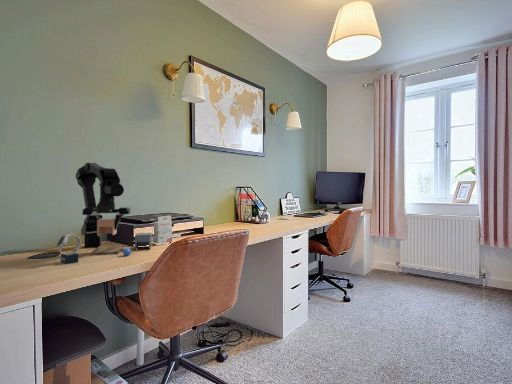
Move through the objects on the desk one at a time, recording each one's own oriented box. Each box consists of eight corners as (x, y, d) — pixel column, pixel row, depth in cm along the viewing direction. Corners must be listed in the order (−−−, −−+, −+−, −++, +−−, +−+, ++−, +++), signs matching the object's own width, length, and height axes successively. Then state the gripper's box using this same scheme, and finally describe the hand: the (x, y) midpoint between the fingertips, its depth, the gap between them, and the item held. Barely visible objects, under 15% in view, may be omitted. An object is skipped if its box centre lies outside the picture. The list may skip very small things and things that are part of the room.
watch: (54, 262, 112) (54, 234, 112) (77, 258, 118) (77, 232, 118) (59, 265, 108) (59, 236, 108) (83, 261, 114) (83, 233, 114)
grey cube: (135, 250, 135) (135, 235, 135) (137, 247, 141) (137, 233, 141) (150, 249, 136) (150, 234, 136) (151, 246, 143) (151, 232, 143)
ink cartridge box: (166, 242, 155) (166, 214, 155) (172, 243, 152) (172, 215, 152) (152, 244, 148) (152, 216, 148) (158, 245, 145) (158, 216, 145)
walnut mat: (90, 255, 124) (90, 252, 124) (97, 249, 135) (97, 247, 135) (117, 253, 127) (117, 251, 127) (122, 248, 138) (122, 246, 138)
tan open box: (97, 235, 127) (97, 219, 127) (101, 233, 133) (101, 218, 133) (113, 235, 129) (113, 219, 128) (116, 232, 135) (116, 218, 135)
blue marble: (122, 256, 122) (122, 249, 122) (123, 255, 125) (123, 247, 125) (130, 256, 123) (130, 248, 123) (131, 254, 126) (131, 247, 126)
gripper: (77, 196, 121) (78, 233, 121) (125, 196, 125) (125, 232, 126) (86, 195, 131) (86, 229, 132) (130, 195, 136) (130, 228, 136)
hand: (107, 229), depth 131 cm, fingers closed on tan open box, 7 cm apart
